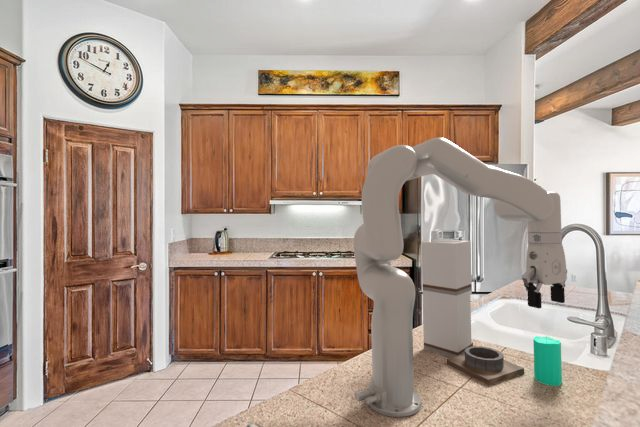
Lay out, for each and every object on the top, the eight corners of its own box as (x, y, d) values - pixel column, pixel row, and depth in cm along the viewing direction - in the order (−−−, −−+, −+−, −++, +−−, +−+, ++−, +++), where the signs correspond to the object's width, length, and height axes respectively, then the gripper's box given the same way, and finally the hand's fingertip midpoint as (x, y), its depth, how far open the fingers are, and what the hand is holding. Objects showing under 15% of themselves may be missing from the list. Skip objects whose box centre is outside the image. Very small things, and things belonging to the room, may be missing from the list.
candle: (566, 386, 84) (565, 338, 84) (540, 384, 86) (538, 337, 86) (555, 375, 90) (553, 330, 90) (530, 373, 91) (529, 329, 91)
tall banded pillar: (473, 349, 109) (470, 240, 109) (458, 359, 102) (455, 243, 102) (440, 340, 117) (437, 239, 117) (423, 348, 110) (421, 241, 110)
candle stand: (488, 385, 86) (488, 368, 86) (446, 364, 98) (446, 348, 98) (524, 373, 92) (523, 357, 92) (480, 354, 104) (479, 340, 104)
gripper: (537, 242, 81) (540, 313, 81) (579, 238, 88) (581, 303, 88) (508, 240, 88) (511, 305, 88) (549, 236, 95) (551, 297, 95)
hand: (546, 304), depth 88 cm, fingers open, 9 cm apart
